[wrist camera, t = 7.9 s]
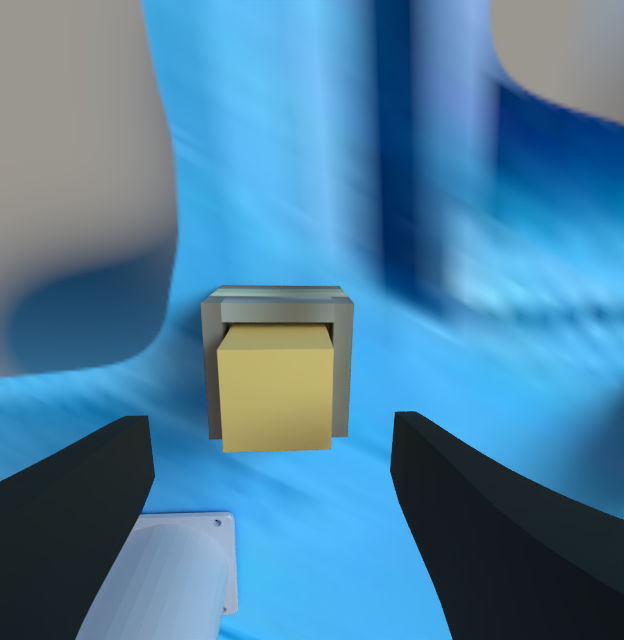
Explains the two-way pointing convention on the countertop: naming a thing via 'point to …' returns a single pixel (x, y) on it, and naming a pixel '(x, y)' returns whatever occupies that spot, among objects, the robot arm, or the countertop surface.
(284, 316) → the tower base
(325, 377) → the ochre block
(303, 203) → the countertop surface
